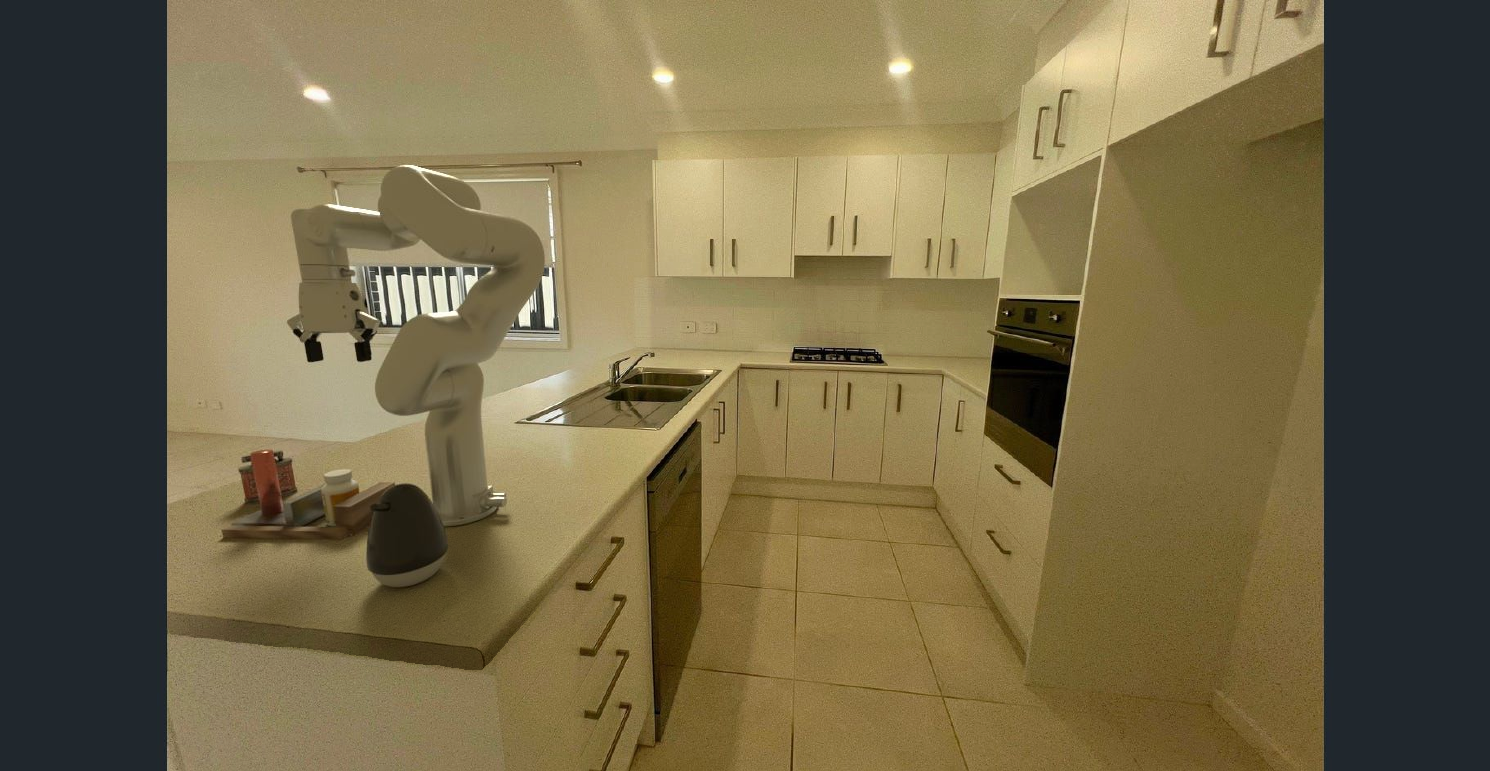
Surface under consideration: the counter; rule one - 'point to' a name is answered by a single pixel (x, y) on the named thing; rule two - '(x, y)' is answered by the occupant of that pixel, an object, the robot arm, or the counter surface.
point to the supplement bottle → (337, 491)
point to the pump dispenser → (405, 537)
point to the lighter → (283, 474)
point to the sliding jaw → (279, 498)
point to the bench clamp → (348, 522)
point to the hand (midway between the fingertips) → (340, 361)
